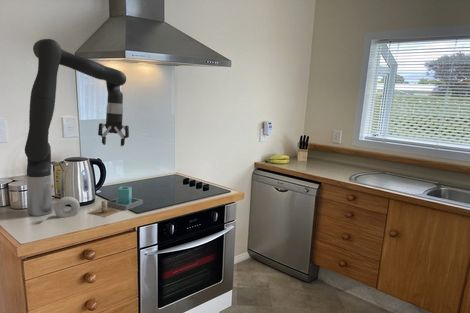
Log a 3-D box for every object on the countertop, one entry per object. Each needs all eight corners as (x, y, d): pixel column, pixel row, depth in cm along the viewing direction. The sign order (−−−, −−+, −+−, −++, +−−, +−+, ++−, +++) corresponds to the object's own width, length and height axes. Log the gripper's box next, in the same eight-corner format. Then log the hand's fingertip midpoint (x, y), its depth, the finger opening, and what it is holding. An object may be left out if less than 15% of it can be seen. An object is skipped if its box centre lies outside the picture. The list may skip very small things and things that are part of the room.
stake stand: (87, 216, 155) (87, 202, 154) (104, 210, 164) (104, 196, 163) (104, 220, 151) (104, 206, 150) (120, 214, 160) (120, 200, 159)
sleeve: (117, 207, 167) (117, 189, 165) (120, 204, 172) (120, 186, 170) (128, 208, 167) (129, 189, 165) (131, 204, 172) (131, 186, 170)
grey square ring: (106, 208, 166) (106, 201, 166) (124, 202, 177) (124, 195, 177) (125, 213, 161) (125, 206, 161) (142, 206, 172) (143, 199, 172)
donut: (55, 222, 146) (54, 199, 145) (54, 219, 149) (53, 196, 148) (80, 218, 152) (80, 196, 150) (79, 216, 155) (78, 194, 153)
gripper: (97, 111, 167) (95, 145, 169) (127, 114, 168) (125, 147, 170) (102, 111, 174) (100, 143, 176) (131, 113, 175) (129, 145, 177)
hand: (113, 145), depth 173 cm, fingers open, 8 cm apart
